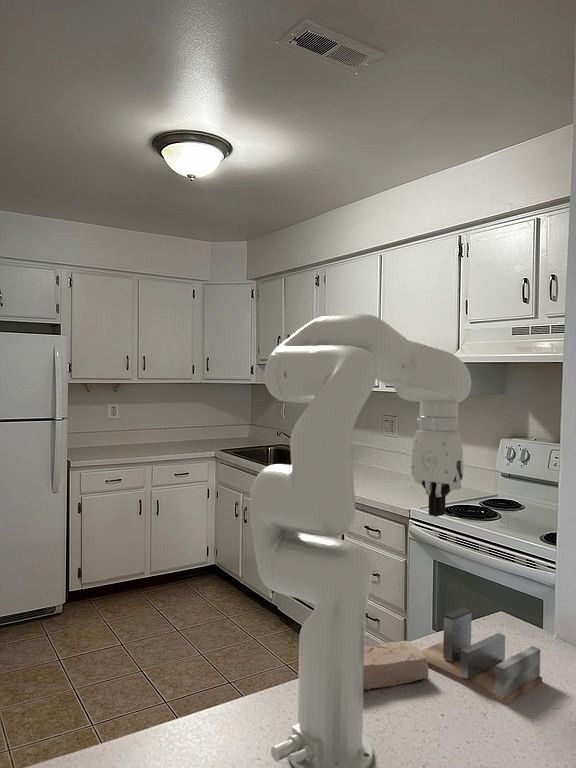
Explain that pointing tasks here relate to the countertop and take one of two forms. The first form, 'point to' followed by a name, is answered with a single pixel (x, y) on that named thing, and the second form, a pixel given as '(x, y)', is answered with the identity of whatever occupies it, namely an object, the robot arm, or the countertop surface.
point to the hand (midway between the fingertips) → (436, 514)
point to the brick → (393, 664)
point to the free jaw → (461, 648)
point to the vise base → (493, 673)
